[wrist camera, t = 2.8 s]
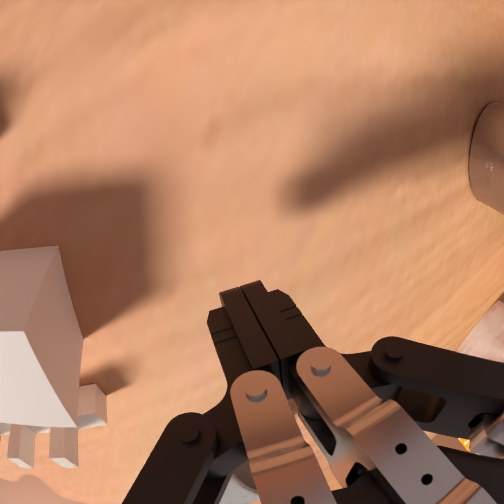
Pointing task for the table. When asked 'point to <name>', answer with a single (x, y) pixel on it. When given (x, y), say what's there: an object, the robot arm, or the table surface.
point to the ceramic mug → (240, 487)
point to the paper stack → (487, 336)
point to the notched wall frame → (57, 432)
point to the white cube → (38, 340)
